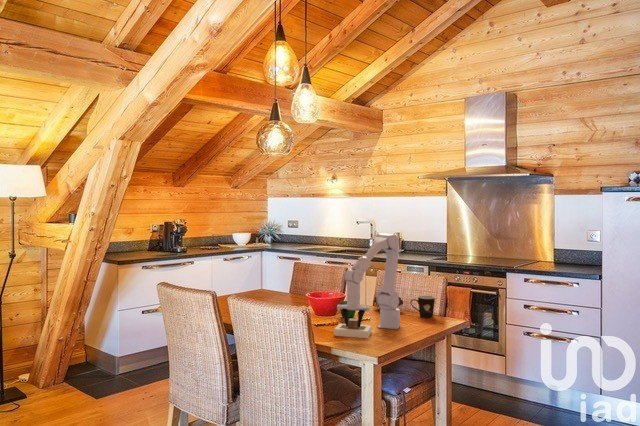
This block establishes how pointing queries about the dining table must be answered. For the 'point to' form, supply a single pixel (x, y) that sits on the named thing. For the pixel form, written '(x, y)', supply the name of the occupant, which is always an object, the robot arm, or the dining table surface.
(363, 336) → the well trough
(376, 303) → the pine cone
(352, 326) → the bracket block
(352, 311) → the bell pepper
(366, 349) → the dining table surface
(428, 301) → the coffee mug
